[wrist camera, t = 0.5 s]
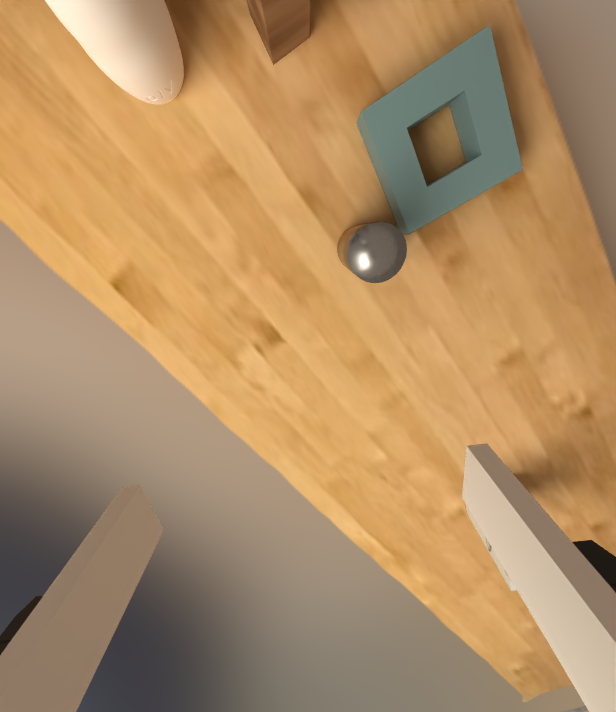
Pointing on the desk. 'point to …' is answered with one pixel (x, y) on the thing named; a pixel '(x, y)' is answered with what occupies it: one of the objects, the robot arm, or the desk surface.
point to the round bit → (373, 251)
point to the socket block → (473, 123)
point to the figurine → (128, 43)
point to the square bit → (281, 24)
